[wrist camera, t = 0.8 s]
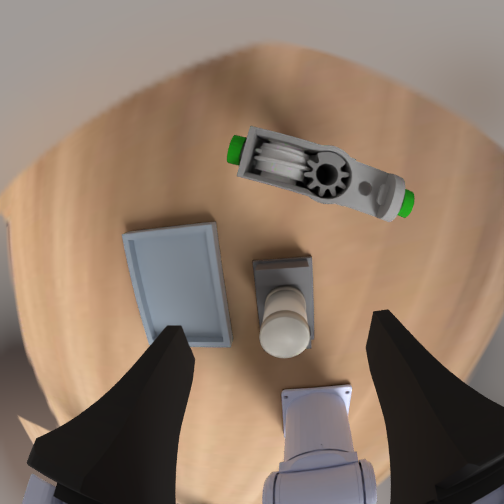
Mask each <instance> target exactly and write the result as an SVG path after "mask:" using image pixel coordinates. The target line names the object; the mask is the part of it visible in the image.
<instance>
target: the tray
mask: <svg viewBox="0 0 504 504" xmlns="http://www.w3.org/2000/svg"><path fill="white" fill-rule="evenodd" d="M122 238H123V243H124V248H125V253H126V258H127V263H128V267H129V272H130V276H131V280H132V285H133V289H134V293H135V297H136V301H137V304H138V308H139V312H140V315H141V319H142V322H143V326H144V329H145V332H146V336H147V339H148V342H149V345H151V344H152V343H153V342H154V340H155V339H156V338H157V337H158V335H159V334H160V333H161V332H162V331H163V330H164V328H165V327H166V326H167V325H181V326H182V328H183V331H184V333H185V336H186V338H187V341H188V343H189V346H190V347H231V345H232V342H233V334H232V328H231V322H230V316H229V309H228V303H227V296H226V290H225V283H224V276H223V269H222V262H221V255H220V248H219V241H218V233H217V226H216V221H215V222H206V223H196V224H187V225H178V226H169V227H161V228H152V229H144V230H136V231H129V232H127V233H124V234H122Z"/></svg>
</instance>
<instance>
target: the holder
mask: <svg viewBox="0 0 504 504" xmlns="http://www.w3.org/2000/svg"><path fill="white" fill-rule="evenodd" d="M253 270H254V279H255V288H256V297H257V306H258V315H259V324H260V330H261V325H262V322H263V316H264V310H265V301H266V297H267V295H268V293H269V292H270V291H271V290H272V289H273V288H275V287H277V286H280V285H291V286H294V287H296V288H298V289H299V290H300V291H301V292H302V293H303V295H304V297H305V302H306V314H307V322H308V326H309V333H310V340H309V344H308V346H307V347H306V349H309V348H311V340H313V339H314V300H313V271H312V256H308V257H295V258H281V259H267V260H253ZM264 351H265V350H264Z"/></svg>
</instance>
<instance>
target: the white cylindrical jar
mask: <svg viewBox="0 0 504 504" xmlns="http://www.w3.org/2000/svg"><path fill="white" fill-rule="evenodd" d="M259 339H260V343H261V346H262V347H263V349H264V350H265V351H266V352H267V353H269V354H270V355H272V356H275V357H278V358H291V357H294V356H297V355H299V354H300V353H302V352H303V351H304V350H305V349H306V347H307V346H308V344H309V340H310V333H309V326H308V322H307V314H306V302H305V297H304V295H303V293H302V292H301V291H300V290H299V289H298V288H296V287H294V286H291V285H280V286H277V287H275V288H273V289H272V290H271V291H270V292H269V293H268V295H267V297H266V301H265V310H264V316H263V322H262V325H261V330H260V336H259Z"/></svg>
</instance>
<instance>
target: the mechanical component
mask: <svg viewBox="0 0 504 504" xmlns="http://www.w3.org/2000/svg"><path fill="white" fill-rule="evenodd" d="M227 162H228V163H231V164H235V165H239V169H238V173H237V176H238V177H242V178H246V179H249V180H253V181H257V182H261V183H264V184H268V185H272V186H275V187H279V188H282V189H286V190H289V191H293V192H296V193H300V194H303V195H306V196H309V197H310V198H311V199H313V200H315V201H317V202H319V203H323V204H338V205H341V206H346V207H349V208H352V209H355V210H357V211H360V212H363V213H366V214H369V215H372V216H375V217H377V218H379V219H382V220H385V221H388V222H391V221H392V220H394V218H395V217H396V216H397V215H398V216H401V217H404V218H406V217H407V216H408V215H409V214H410V212H411V211H412V208H413V205H414V194H413V192H411V191H409V190H407V189H405V181H404V179H403V178H401V177H399V176H397V175H394V174H389V173H386V172H384V171H381V170H379V169H376V168H373V167H371V166H368V165H365V164H363V163H360V162H357V161H356V159H354V158H351V157H350V156H349V155H348V154H347V153H346V152H345V151H343V150H342V149H340V148H338V147H335V146H330V145H320V144H316V143H313V142H310V141H306V140H303V139H300V138H296V137H293V136H289V135H285V134H281V133H278V132H274V131H270V130H266V129H262V128H258V127H253V126H250V129H249V132H248V136H247V138H246V137H242V136H237V135H234V136H233V138H232V140H231V142H230V145H229V149H228V154H227Z"/></svg>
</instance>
